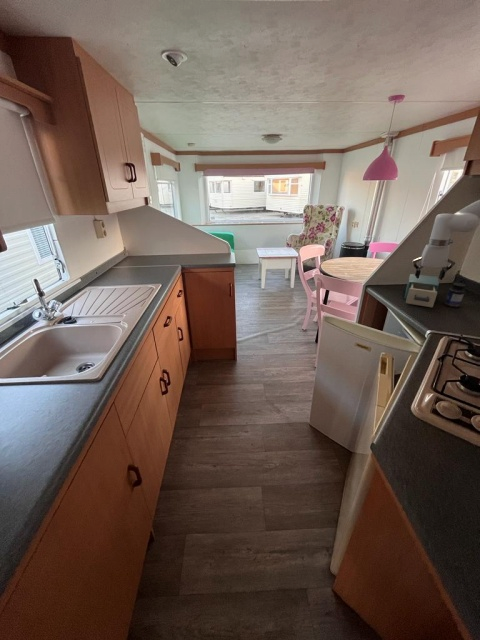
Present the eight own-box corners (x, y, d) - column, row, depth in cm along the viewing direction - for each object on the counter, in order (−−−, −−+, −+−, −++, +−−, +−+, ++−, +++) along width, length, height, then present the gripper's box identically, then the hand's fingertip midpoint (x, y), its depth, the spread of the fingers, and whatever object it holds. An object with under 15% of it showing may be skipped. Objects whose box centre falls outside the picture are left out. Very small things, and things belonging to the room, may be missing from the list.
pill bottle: (443, 302, 135) (450, 281, 130) (458, 304, 133) (466, 283, 127) (444, 306, 131) (452, 285, 126) (459, 308, 128) (468, 287, 123)
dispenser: (432, 303, 135) (438, 285, 130) (404, 298, 140) (409, 281, 136) (432, 293, 146) (437, 276, 141) (405, 289, 152) (410, 273, 147)
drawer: (432, 311, 124) (438, 296, 121) (405, 306, 130) (409, 291, 126) (431, 297, 138) (436, 283, 135) (406, 294, 144) (410, 280, 140)
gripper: (458, 241, 122) (447, 277, 130) (415, 240, 128) (407, 274, 136) (464, 244, 116) (452, 282, 124) (418, 243, 122) (409, 279, 129)
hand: (428, 278), depth 130 cm, fingers open, 9 cm apart
